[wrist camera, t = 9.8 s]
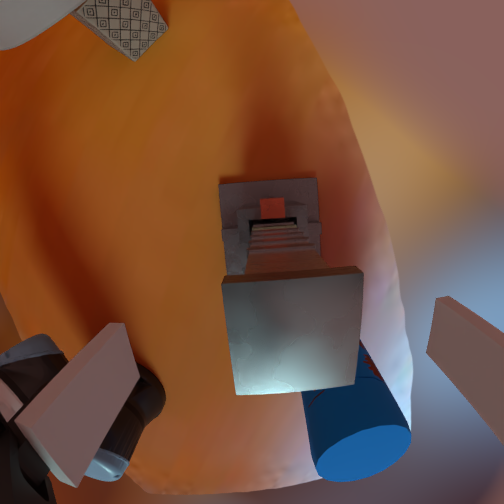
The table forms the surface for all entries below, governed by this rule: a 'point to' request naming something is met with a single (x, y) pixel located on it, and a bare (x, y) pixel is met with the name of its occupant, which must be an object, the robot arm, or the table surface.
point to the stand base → (249, 214)
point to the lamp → (84, 21)
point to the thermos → (355, 425)
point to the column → (291, 315)
